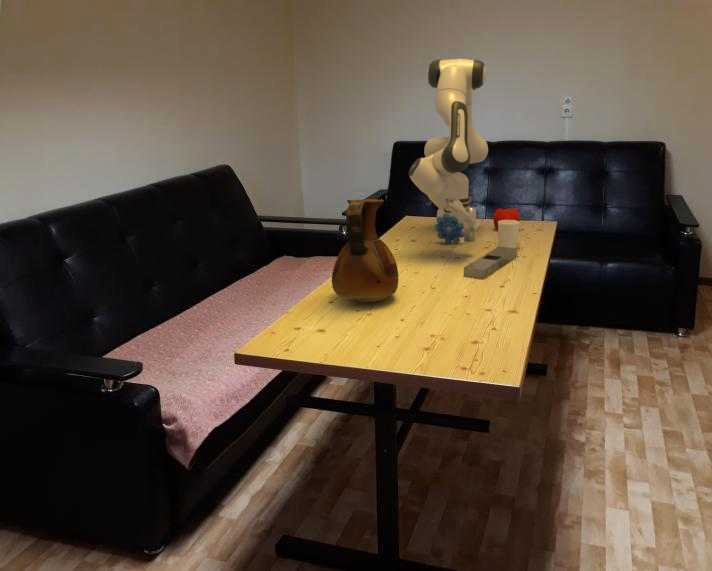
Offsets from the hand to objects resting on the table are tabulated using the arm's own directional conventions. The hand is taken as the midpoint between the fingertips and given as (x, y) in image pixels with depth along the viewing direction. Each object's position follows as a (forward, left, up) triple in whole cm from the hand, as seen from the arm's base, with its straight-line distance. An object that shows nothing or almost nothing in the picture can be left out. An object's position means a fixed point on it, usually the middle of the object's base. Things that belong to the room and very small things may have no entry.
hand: (471, 223), depth 246 cm
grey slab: (+10, +12, -12) cm, 19 cm away
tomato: (-46, -3, -12) cm, 48 cm away
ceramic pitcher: (+61, -8, -12) cm, 63 cm away
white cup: (-17, +8, -12) cm, 23 cm away
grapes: (-12, -14, -12) cm, 22 cm away
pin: (0, -1, -6) cm, 6 cm away
